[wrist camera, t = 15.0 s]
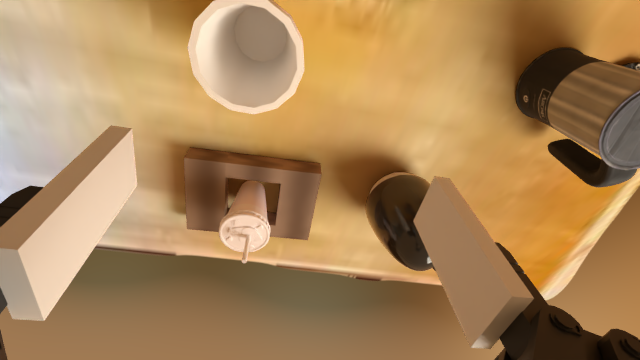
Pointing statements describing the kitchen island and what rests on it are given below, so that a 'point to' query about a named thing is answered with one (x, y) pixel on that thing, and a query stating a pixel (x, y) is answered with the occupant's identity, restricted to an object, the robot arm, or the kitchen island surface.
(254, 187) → the smoothie
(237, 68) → the foam cup
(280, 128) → the kitchen island surface
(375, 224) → the pump dispenser
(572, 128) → the milk frother
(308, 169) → the bottle holder
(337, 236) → the kitchen island surface
